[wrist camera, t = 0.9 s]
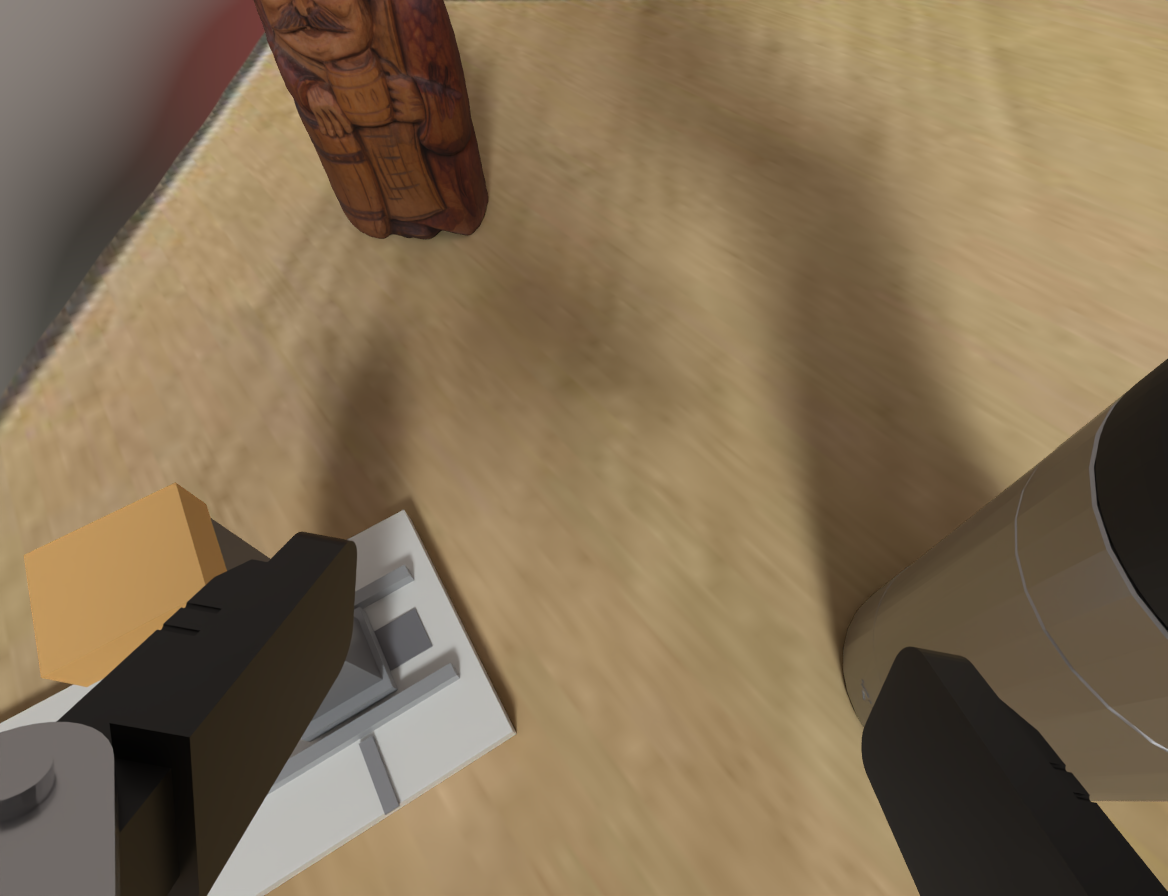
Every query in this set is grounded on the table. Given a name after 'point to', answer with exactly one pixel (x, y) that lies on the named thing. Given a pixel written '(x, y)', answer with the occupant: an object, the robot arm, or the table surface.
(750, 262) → the table surface
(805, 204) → the table surface
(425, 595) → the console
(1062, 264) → the table surface
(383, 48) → the wooden figurine
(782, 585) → the table surface
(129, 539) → the fader
